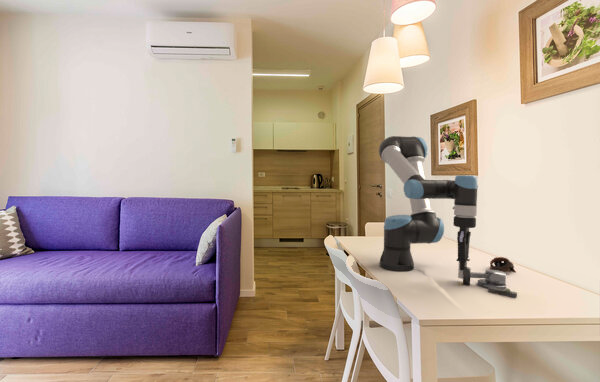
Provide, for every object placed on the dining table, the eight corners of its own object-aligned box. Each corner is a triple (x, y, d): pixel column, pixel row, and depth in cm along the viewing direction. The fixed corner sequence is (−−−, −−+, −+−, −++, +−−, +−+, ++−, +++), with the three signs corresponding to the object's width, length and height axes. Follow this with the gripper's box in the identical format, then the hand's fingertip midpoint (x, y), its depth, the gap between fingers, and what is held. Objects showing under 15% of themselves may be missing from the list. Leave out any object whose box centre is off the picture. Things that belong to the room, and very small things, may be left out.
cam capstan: (498, 282, 122) (499, 265, 122) (511, 290, 113) (512, 273, 113) (458, 280, 124) (458, 264, 123) (467, 288, 115) (468, 271, 114)
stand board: (452, 288, 119) (453, 278, 119) (469, 277, 133) (469, 268, 133) (515, 303, 106) (515, 291, 105) (526, 288, 119) (526, 278, 119)
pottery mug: (522, 279, 133) (517, 263, 131) (500, 287, 134) (494, 272, 132) (506, 264, 144) (500, 249, 142) (485, 272, 146) (479, 257, 144)
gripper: (457, 213, 129) (455, 272, 130) (450, 217, 118) (447, 280, 119) (478, 215, 124) (476, 275, 125) (473, 218, 114) (470, 284, 115)
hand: (462, 278), depth 122 cm, fingers closed
